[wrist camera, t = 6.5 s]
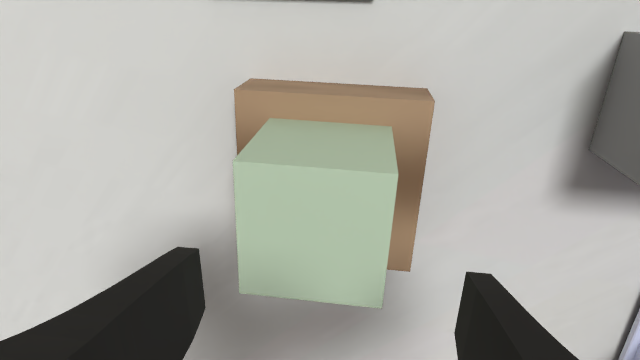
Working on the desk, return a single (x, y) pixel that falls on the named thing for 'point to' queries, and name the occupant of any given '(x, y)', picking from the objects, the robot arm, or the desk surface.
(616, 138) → the charcoal block
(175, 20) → the desk surface
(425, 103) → the light brown block
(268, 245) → the sage block
